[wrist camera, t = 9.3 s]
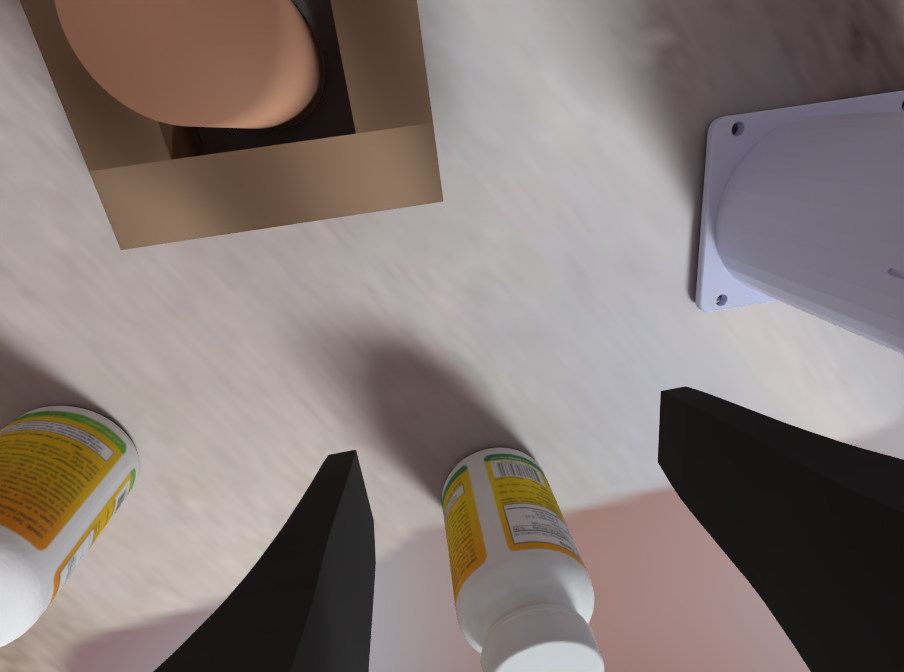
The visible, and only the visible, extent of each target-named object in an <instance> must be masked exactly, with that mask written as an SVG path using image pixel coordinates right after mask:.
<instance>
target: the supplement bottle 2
mask: <svg viewBox="0 0 904 672" xmlns="http://www.w3.org/2000/svg"><path fill="white" fill-rule="evenodd" d="M442 505H443V514H444V522H445V529H446V536H447V543H448V551H449V558H450V567H451V575H452V583H453V591H454V600H455V607H456V615H457V620H458V623H459V627H460V629H461V631H462V634H463V635H464V637H465V638H466V640H467V641H468V642H469V644H470V645H471V646H472V647H473V648H474V649H475V650H477V651H478V652H479V653H481V666H482V670H483V672H604V663H603V660H602V657H601V655H600V651H599V649H598V646H597V643H596V641H595V638H594V634H593V632H592V629H591V627H590V626H589V624H588V623H589V621H590V618H591V616H592V613H593V607H594V592H593V587H592V583H591V580H590V577H589V574H588V572H587V570H586V567H585V565H584V563H583V561H582V559H581V556H580V554H579V552H578V550H577V547H576V545H575V543H574V541H573V538H572V536H571V534H570V531H569V529H568V527H567V524H566V522H565V520H564V517H563V515H562V513H561V511H560V508H559V506H558V504H557V501H556V499H555V497H554V495H553V492H552V490H551V488H550V485H549V483H548V481H547V479H546V477H545V474H544V472H543V470H542V469H541V467H540V466H539V465H538V463H537V462H536V461H535V460H534V459H532V458H531V457H530V456H528V455H526V454H524V453H523V452H520V451H518V450H514V449H511V448H489V449H484V450H481V451H478V452H476V453H473V454H471V455H469V456H468V457H466V458H465V459H463V460H462V461H461V462H459V463H458V464H457V465H456V467H455V468H454V469H453V470H452V472H451V473H450V474H449V476H448V478H447V480H446V482H445V484H444V488H443V492H442Z"/></svg>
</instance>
